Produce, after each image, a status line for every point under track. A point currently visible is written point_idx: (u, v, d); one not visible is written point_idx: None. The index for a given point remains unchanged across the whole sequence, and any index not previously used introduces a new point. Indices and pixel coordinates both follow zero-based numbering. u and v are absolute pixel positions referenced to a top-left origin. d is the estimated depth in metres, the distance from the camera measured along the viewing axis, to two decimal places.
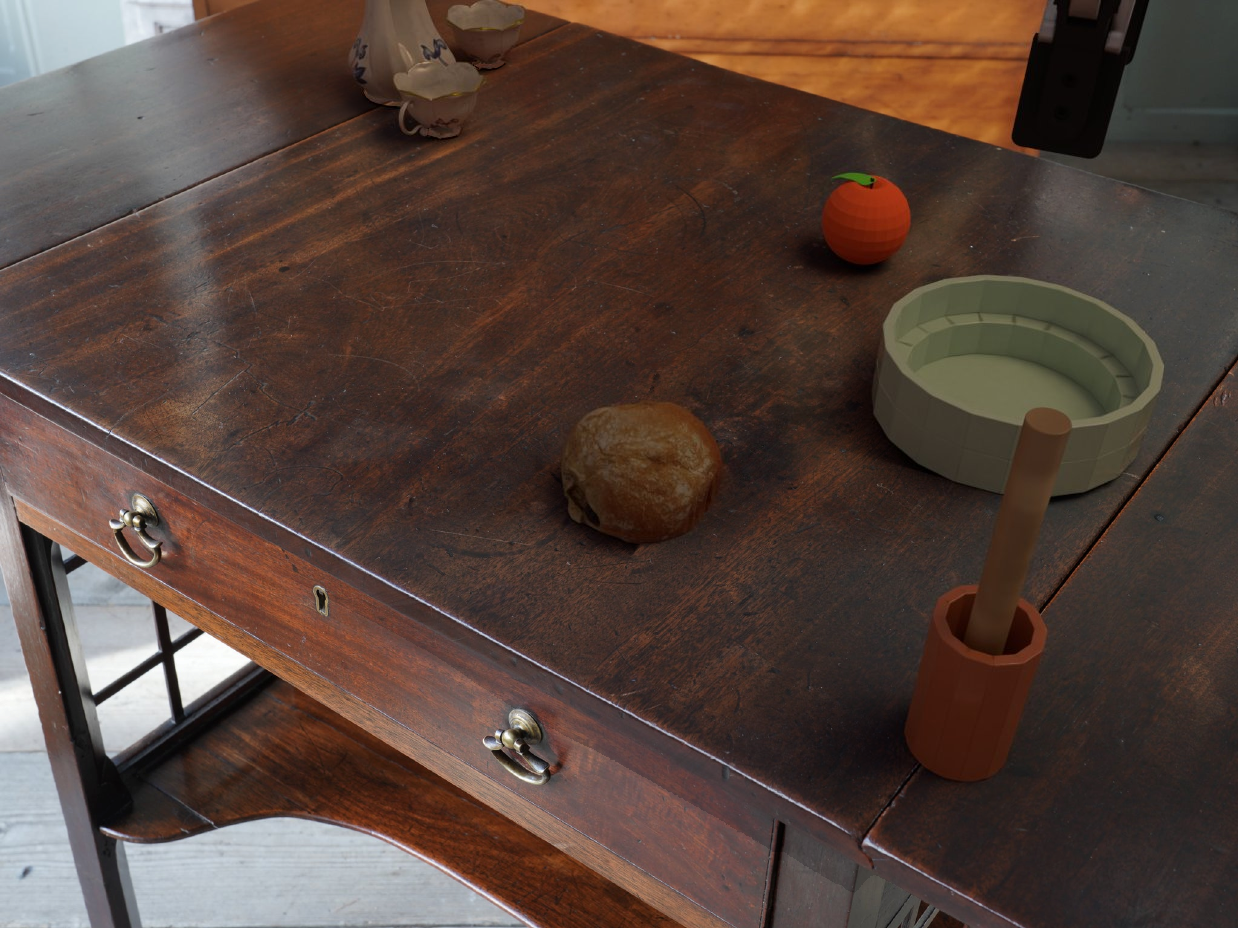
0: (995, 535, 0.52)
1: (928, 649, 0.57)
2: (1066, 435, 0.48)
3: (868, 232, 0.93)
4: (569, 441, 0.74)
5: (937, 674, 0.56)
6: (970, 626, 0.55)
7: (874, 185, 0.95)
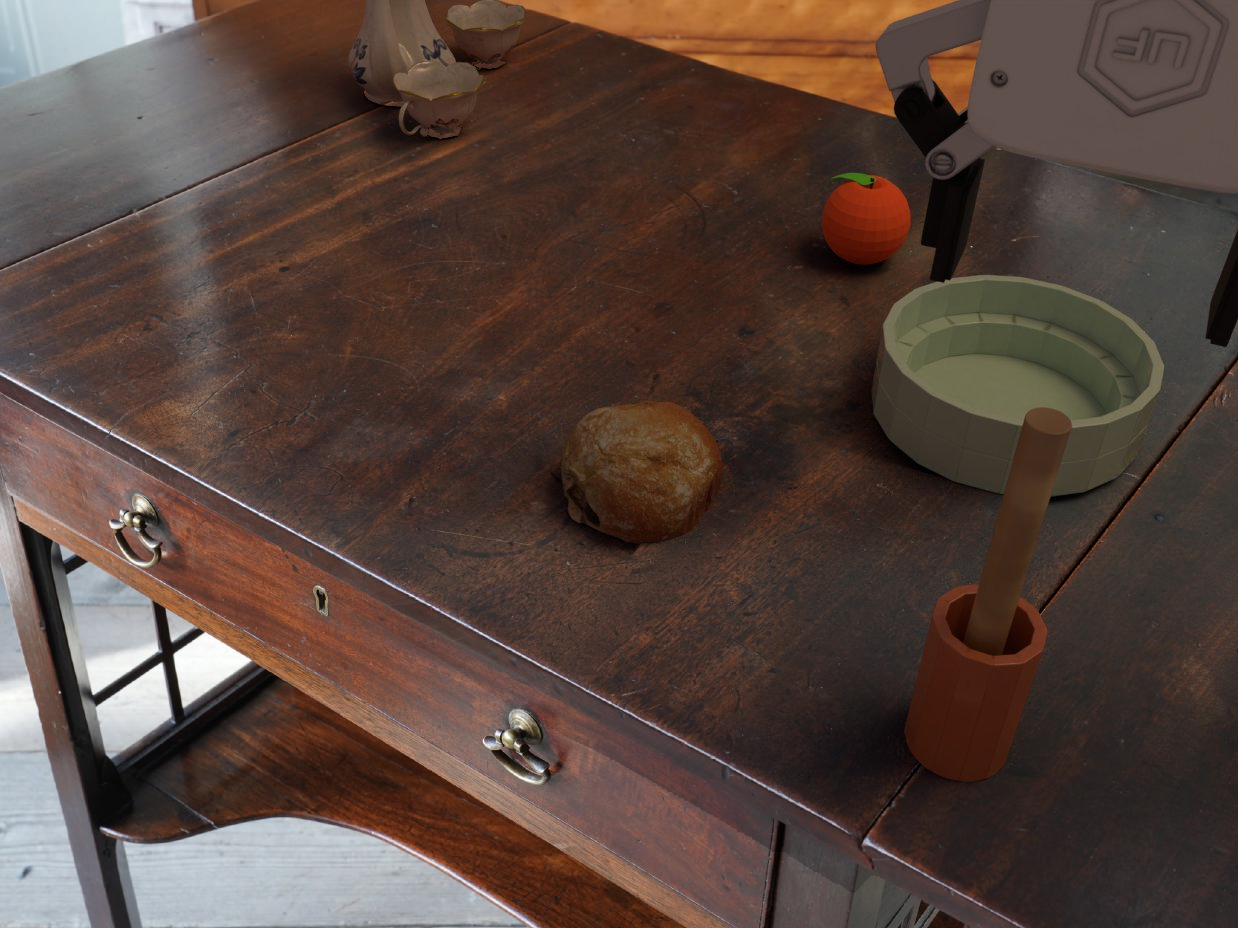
0: (995, 535, 0.52)
1: (928, 649, 0.57)
2: (1066, 435, 0.48)
3: (868, 232, 0.93)
4: (569, 441, 0.74)
5: (937, 674, 0.56)
6: (970, 626, 0.55)
7: (874, 185, 0.95)
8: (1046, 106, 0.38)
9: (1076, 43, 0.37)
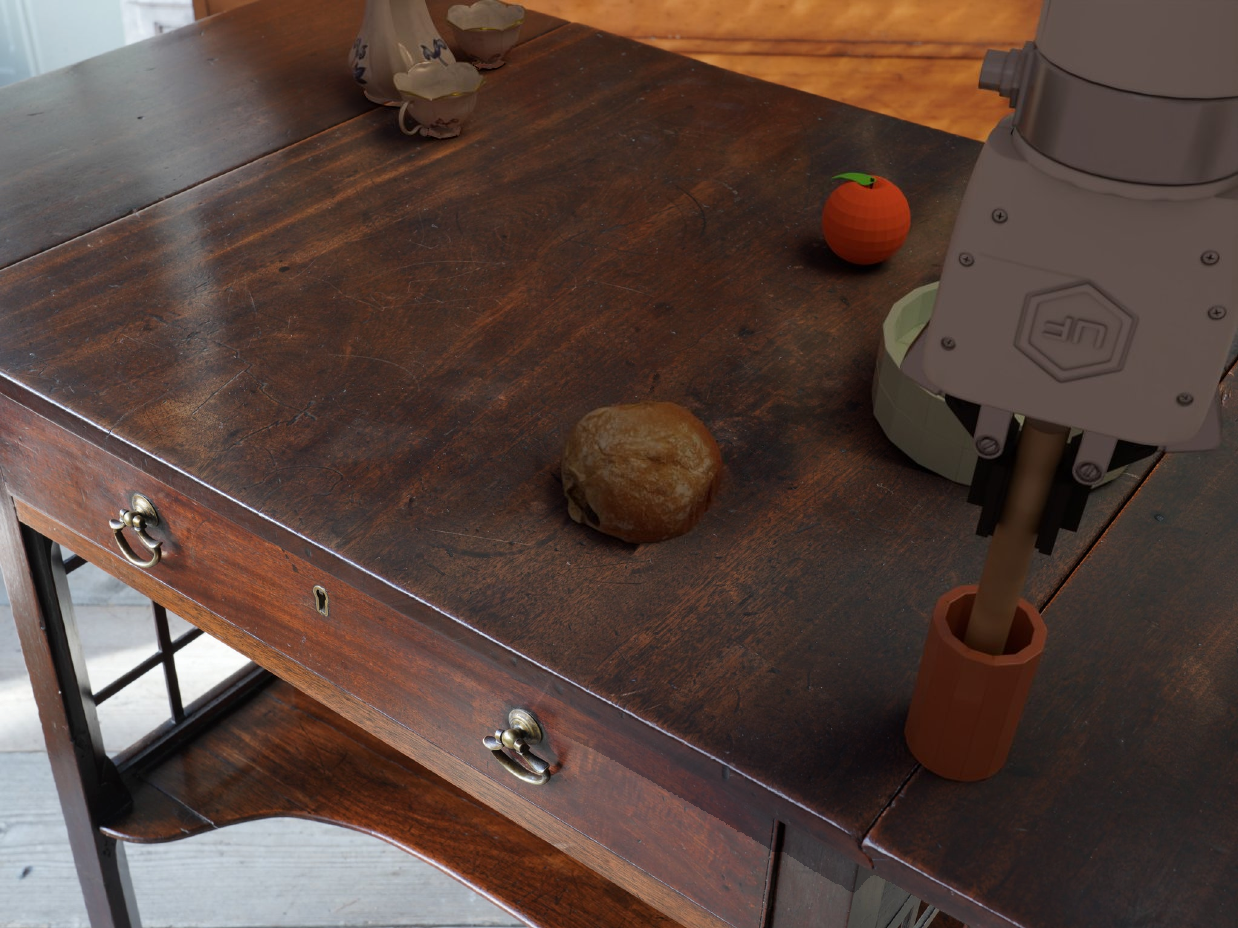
0: (995, 535, 0.52)
1: (928, 649, 0.57)
2: (1066, 434, 0.48)
3: (868, 232, 0.93)
4: (569, 441, 0.74)
5: (937, 674, 0.56)
6: (970, 626, 0.55)
7: (874, 185, 0.95)
8: (988, 368, 0.45)
9: (1012, 323, 0.43)
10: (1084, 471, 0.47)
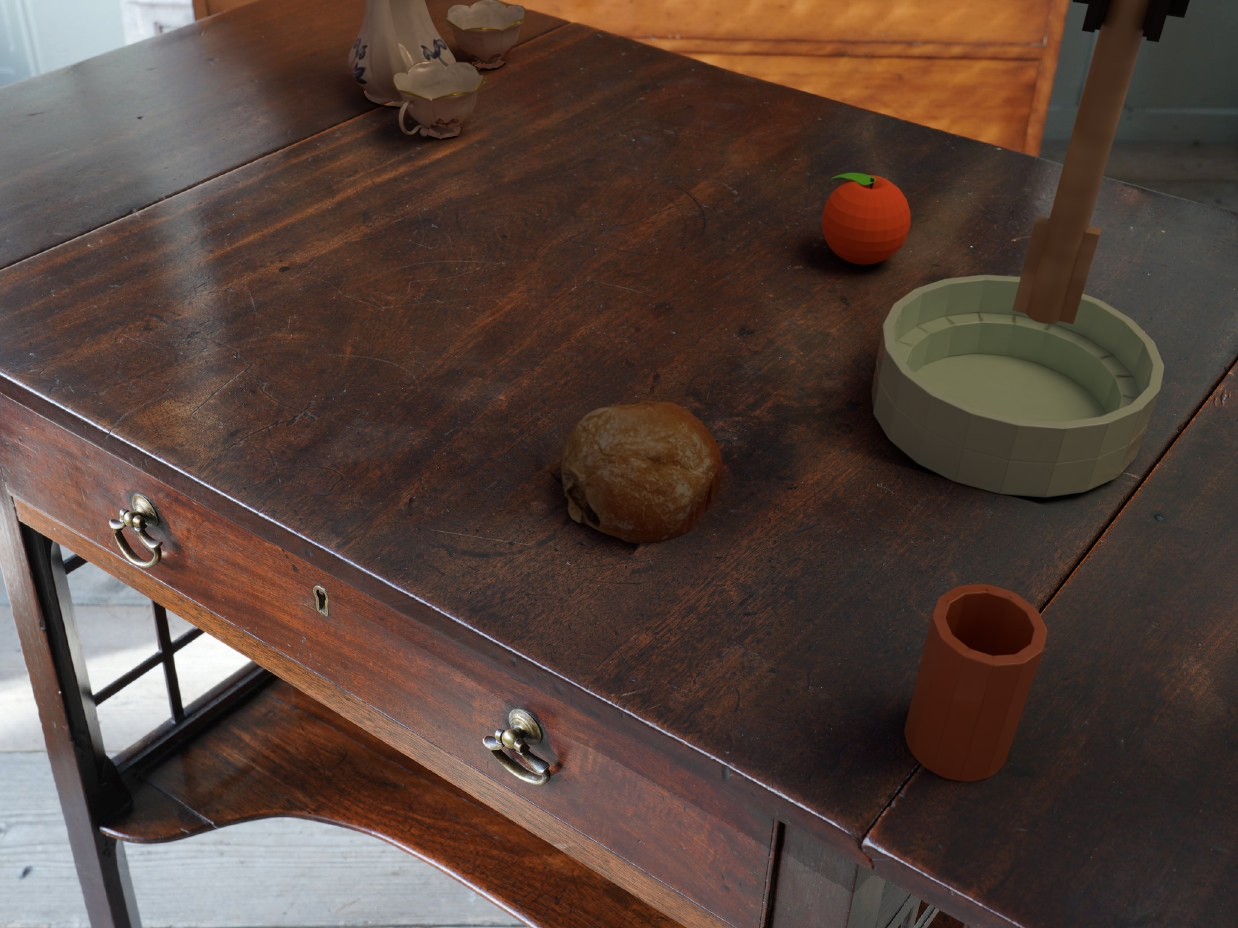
0: (1100, 39, 0.52)
1: (928, 649, 0.57)
2: None
3: (868, 232, 0.93)
4: (569, 441, 0.74)
5: (937, 674, 0.56)
6: (1067, 162, 0.56)
7: (874, 185, 0.95)
8: None
9: None
10: None
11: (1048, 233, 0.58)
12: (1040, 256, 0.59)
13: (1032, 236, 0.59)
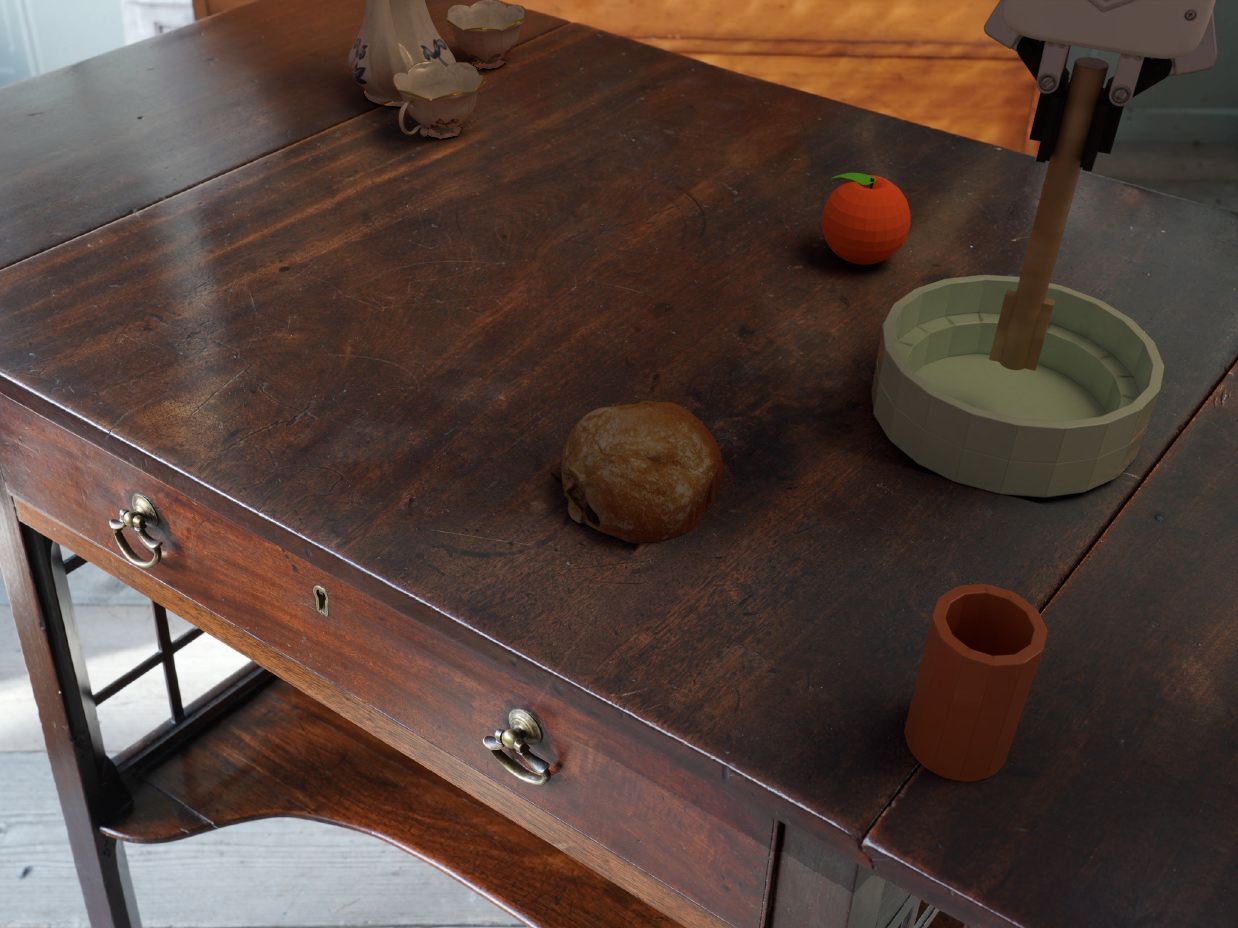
0: (1050, 166, 0.71)
1: (928, 649, 0.57)
2: (1104, 71, 0.66)
3: (868, 232, 0.93)
4: (569, 441, 0.74)
5: (937, 674, 0.56)
6: (1028, 251, 0.74)
7: (874, 185, 0.95)
8: (1052, 7, 0.63)
9: None
10: (1117, 95, 0.66)
11: (1015, 303, 0.76)
12: (1009, 319, 0.77)
13: (1003, 305, 0.77)
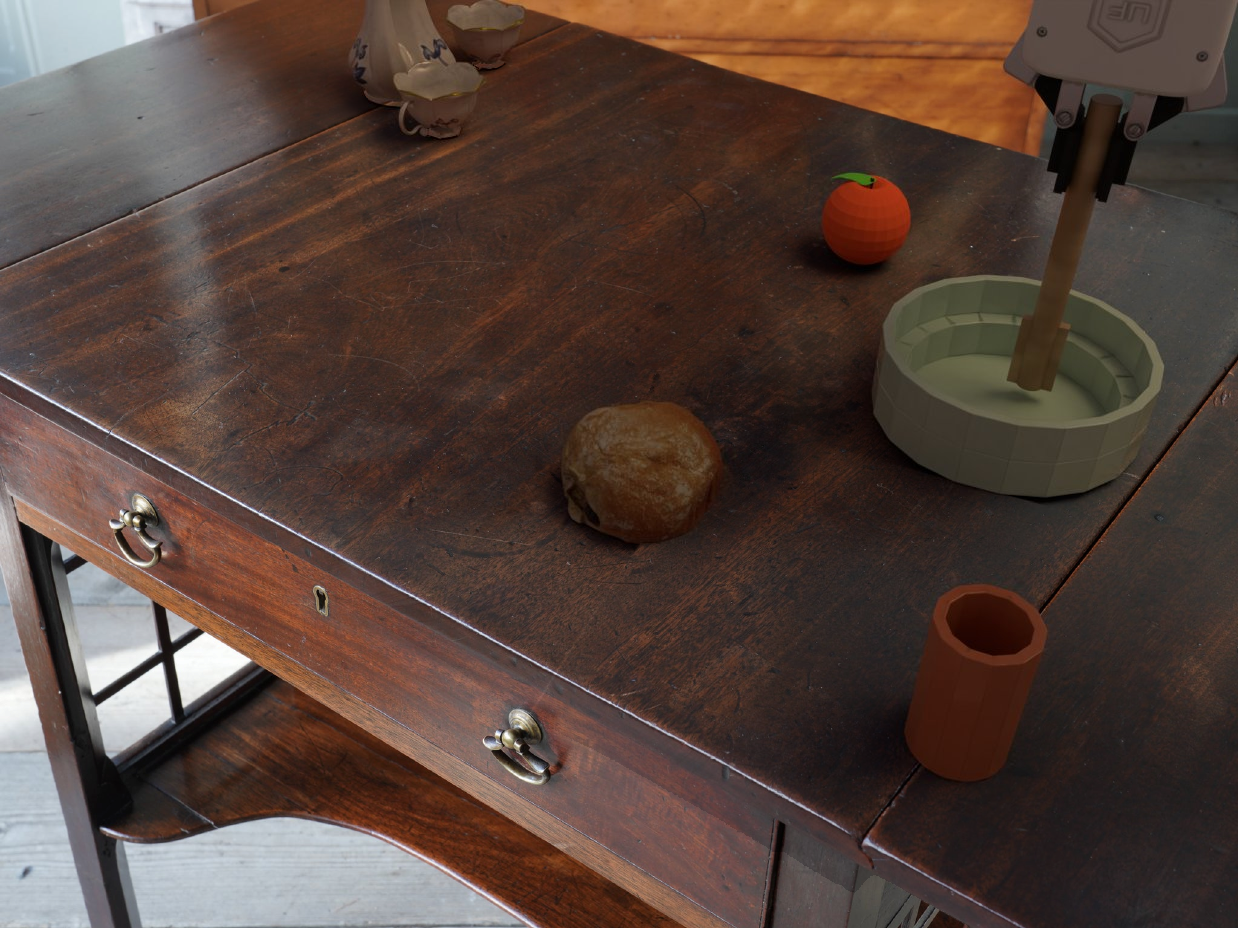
0: (1066, 197, 0.73)
1: (928, 649, 0.57)
2: (1119, 107, 0.69)
3: (868, 232, 0.93)
4: (569, 441, 0.74)
5: (937, 674, 0.56)
6: (1045, 278, 0.77)
7: (874, 185, 0.95)
8: (1069, 47, 0.66)
9: (1087, 10, 0.65)
10: (1132, 130, 0.69)
11: (1032, 327, 0.79)
12: (1026, 343, 0.80)
13: (1020, 328, 0.80)
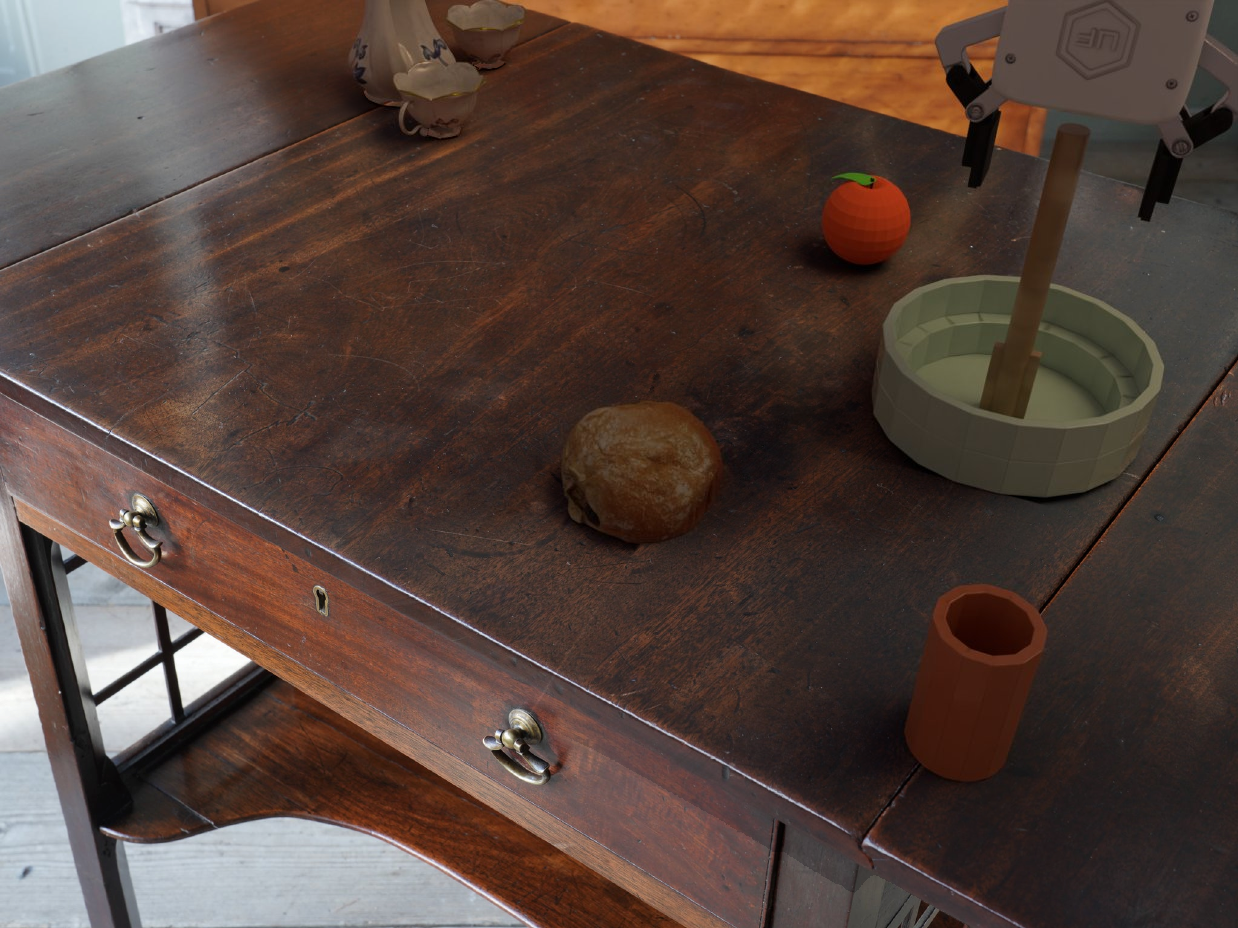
0: (1035, 226, 0.73)
1: (928, 649, 0.57)
2: (1087, 137, 0.69)
3: (868, 232, 0.93)
4: (569, 441, 0.74)
5: (937, 674, 0.56)
6: (1015, 306, 0.77)
7: (874, 185, 0.95)
8: (1038, 74, 0.66)
9: (1055, 37, 0.64)
10: (1178, 147, 0.66)
11: (1003, 355, 0.79)
12: (998, 370, 0.80)
13: (992, 356, 0.79)
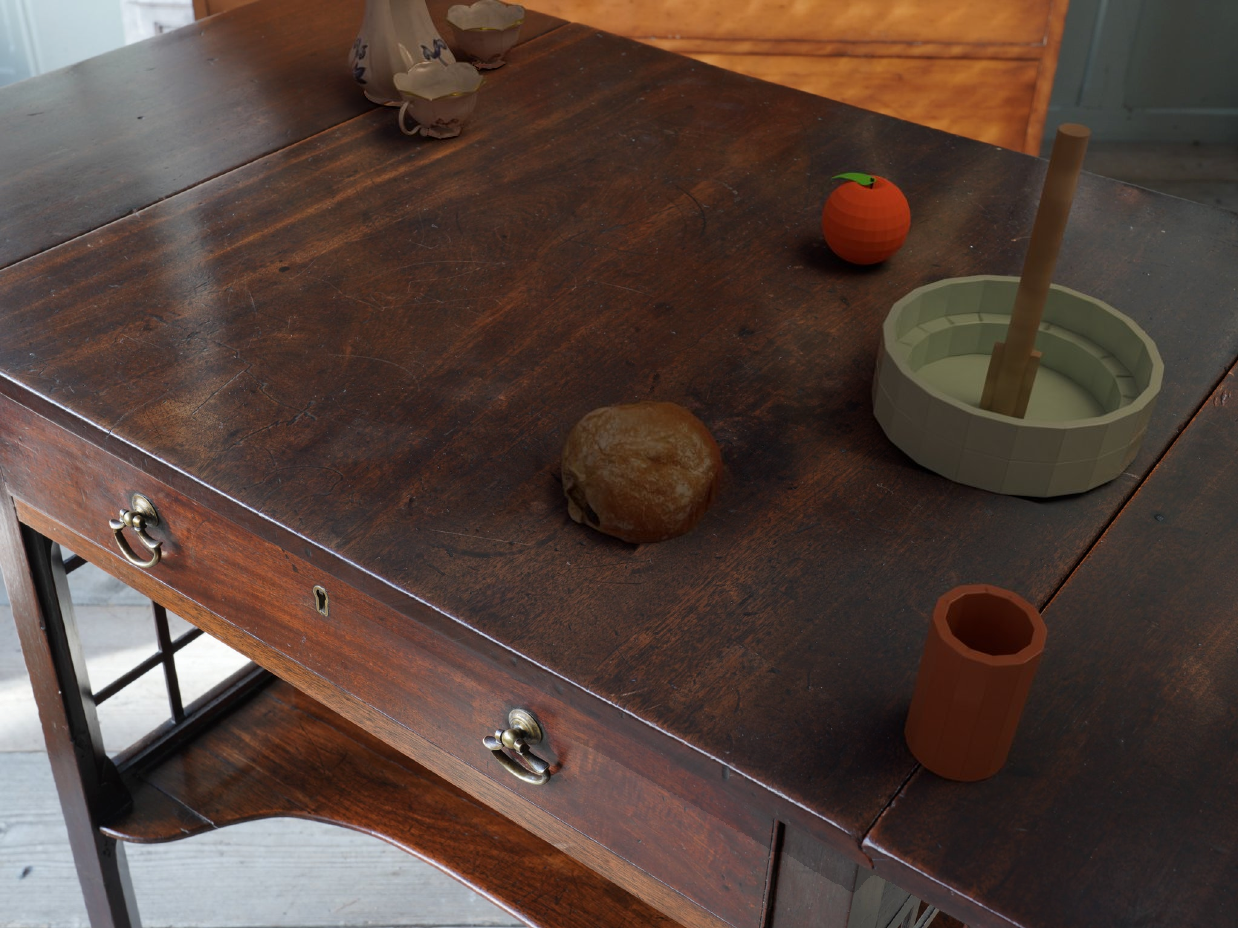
0: (1035, 226, 0.73)
1: (928, 649, 0.57)
2: (1087, 137, 0.69)
3: (868, 232, 0.93)
4: (569, 441, 0.74)
5: (937, 674, 0.56)
6: (1015, 306, 0.77)
7: (874, 185, 0.95)
8: None
9: None
10: None
11: (1003, 355, 0.79)
12: (998, 370, 0.80)
13: (992, 356, 0.79)
